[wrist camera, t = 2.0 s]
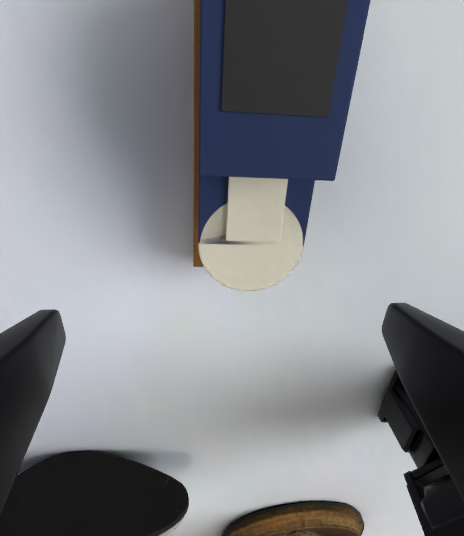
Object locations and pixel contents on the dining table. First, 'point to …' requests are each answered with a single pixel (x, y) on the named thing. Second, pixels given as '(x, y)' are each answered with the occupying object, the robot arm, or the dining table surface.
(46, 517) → the cowboy boot
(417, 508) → the robot arm
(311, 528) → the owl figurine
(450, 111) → the dining table surface
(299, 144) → the toy high-top shoe
